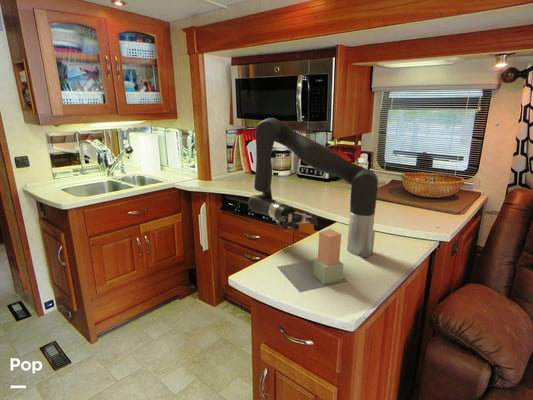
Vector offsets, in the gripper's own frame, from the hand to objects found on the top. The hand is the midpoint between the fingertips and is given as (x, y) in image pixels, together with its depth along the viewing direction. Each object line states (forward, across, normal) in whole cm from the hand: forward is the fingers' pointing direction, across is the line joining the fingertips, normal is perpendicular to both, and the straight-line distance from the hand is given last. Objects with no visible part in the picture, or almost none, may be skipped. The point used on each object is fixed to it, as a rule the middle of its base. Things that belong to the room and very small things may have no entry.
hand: (307, 225), depth 121 cm
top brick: (+12, 0, +9) cm, 15 cm away
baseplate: (+7, -4, +16) cm, 18 cm away
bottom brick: (+12, 0, +15) cm, 19 cm away
